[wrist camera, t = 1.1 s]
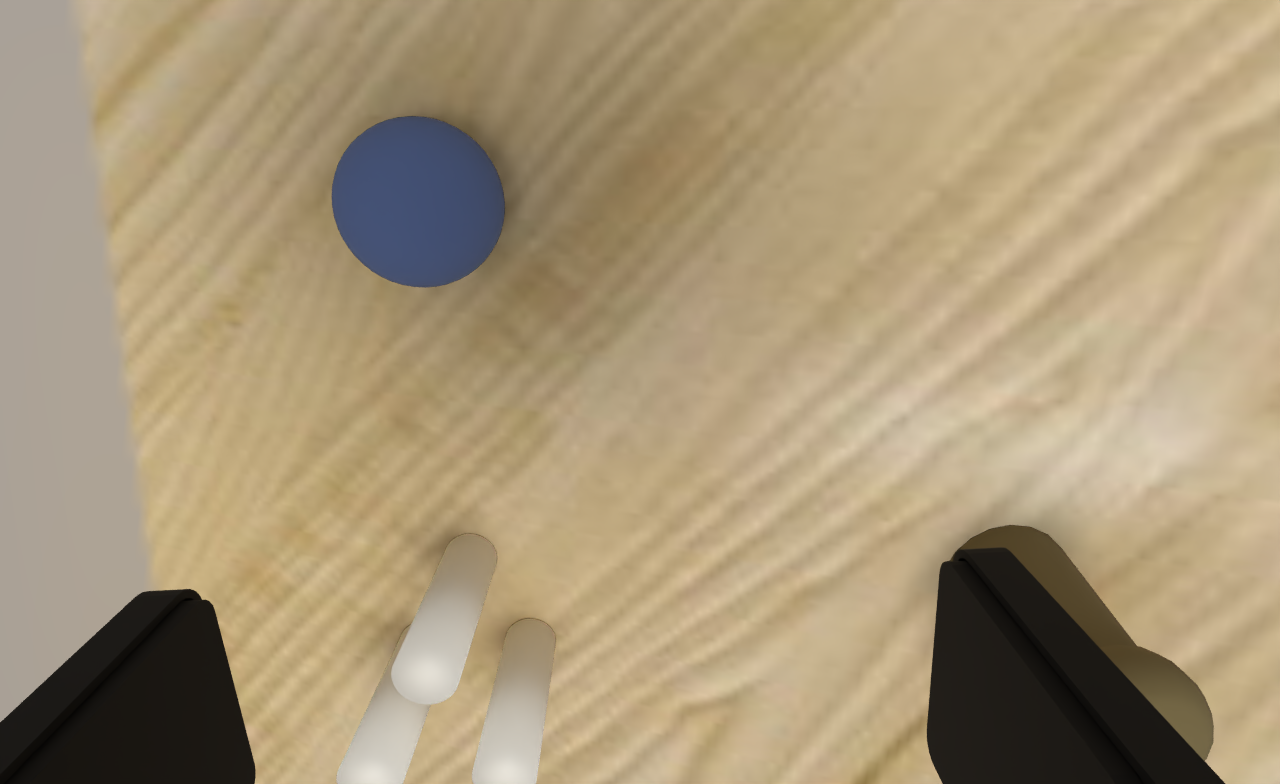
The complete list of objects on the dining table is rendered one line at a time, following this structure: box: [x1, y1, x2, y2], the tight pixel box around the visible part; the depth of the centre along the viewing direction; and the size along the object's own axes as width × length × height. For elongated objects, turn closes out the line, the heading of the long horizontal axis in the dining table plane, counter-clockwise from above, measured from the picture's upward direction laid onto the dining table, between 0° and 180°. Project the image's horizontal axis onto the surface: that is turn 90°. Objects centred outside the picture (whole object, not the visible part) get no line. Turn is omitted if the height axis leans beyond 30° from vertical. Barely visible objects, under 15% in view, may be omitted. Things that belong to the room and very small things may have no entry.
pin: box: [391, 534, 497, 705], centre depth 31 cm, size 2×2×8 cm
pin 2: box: [472, 619, 556, 784], centre depth 33 cm, size 2×2×8 cm
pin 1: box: [337, 625, 431, 784], centre depth 33 cm, size 2×2×8 cm
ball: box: [332, 116, 505, 287], centre depth 28 cm, size 6×6×6 cm
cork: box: [950, 525, 1214, 761], centre depth 31 cm, size 6×6×11 cm
